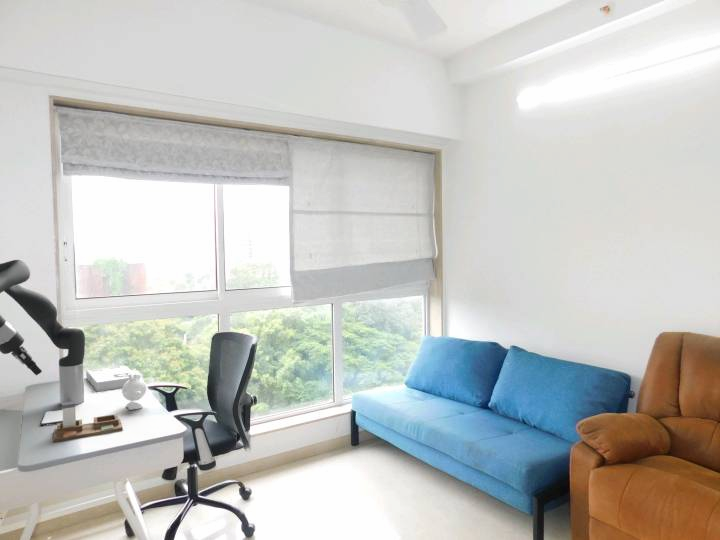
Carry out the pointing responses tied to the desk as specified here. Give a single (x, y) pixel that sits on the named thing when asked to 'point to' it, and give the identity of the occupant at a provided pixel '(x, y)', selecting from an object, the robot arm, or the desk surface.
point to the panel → (88, 428)
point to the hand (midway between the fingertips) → (35, 369)
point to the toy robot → (134, 391)
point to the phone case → (52, 417)
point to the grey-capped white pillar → (69, 414)
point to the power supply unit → (109, 377)
